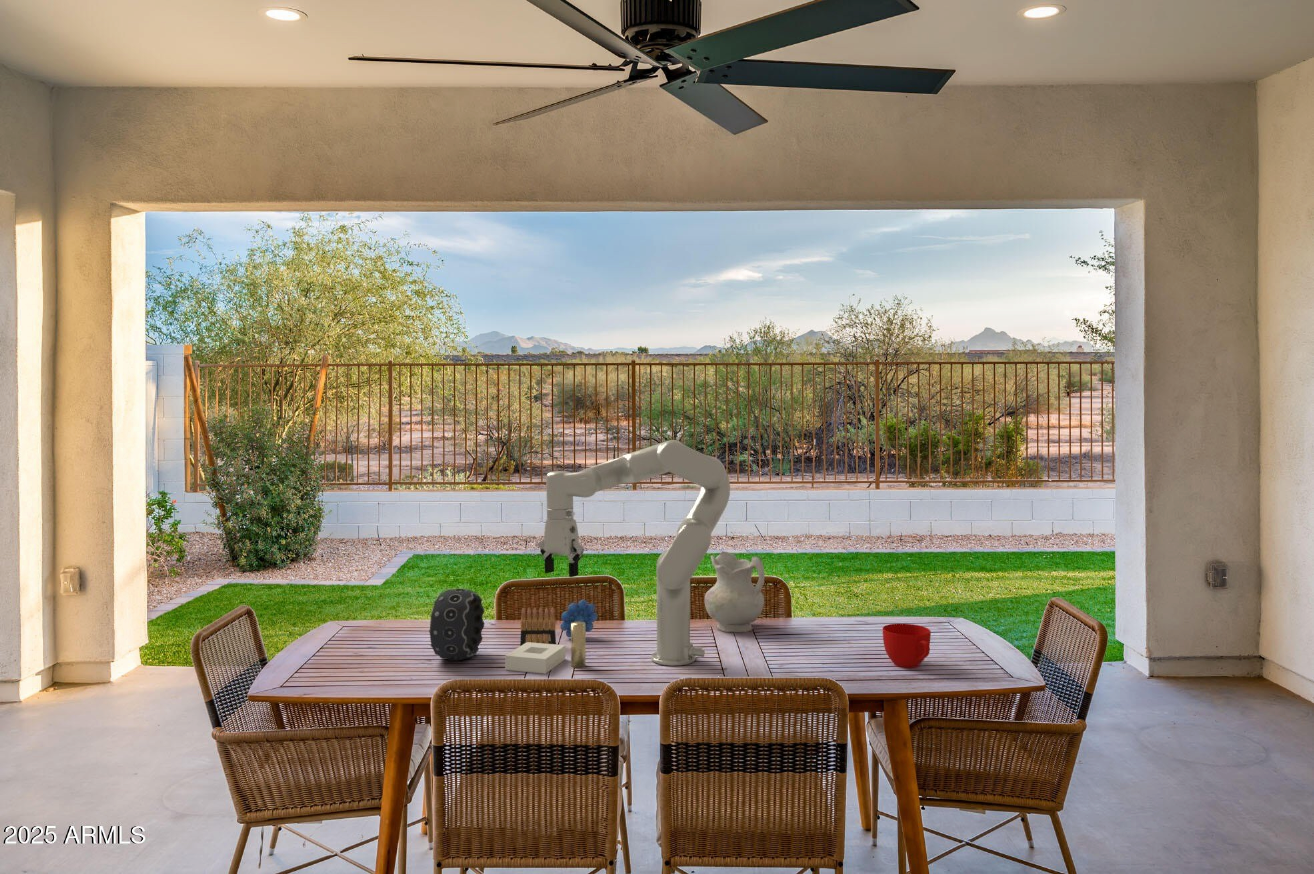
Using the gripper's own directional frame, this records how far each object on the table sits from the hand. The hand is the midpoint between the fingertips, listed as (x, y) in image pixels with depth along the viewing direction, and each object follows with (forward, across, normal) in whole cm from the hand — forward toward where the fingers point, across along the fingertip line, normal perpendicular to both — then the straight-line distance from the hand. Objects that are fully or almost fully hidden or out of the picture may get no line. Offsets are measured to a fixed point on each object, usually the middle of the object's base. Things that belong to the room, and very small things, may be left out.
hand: (561, 574), depth 244 cm
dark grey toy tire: (+24, +25, +18) cm, 39 cm away
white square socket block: (+24, +3, +8) cm, 26 cm away
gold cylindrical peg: (+25, -8, +2) cm, 26 cm away
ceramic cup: (+26, -81, -55) cm, 101 cm away
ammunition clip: (+25, +16, -5) cm, 30 cm away
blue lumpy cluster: (+25, +13, -20) cm, 35 cm away
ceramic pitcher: (+26, -20, -60) cm, 68 cm away
